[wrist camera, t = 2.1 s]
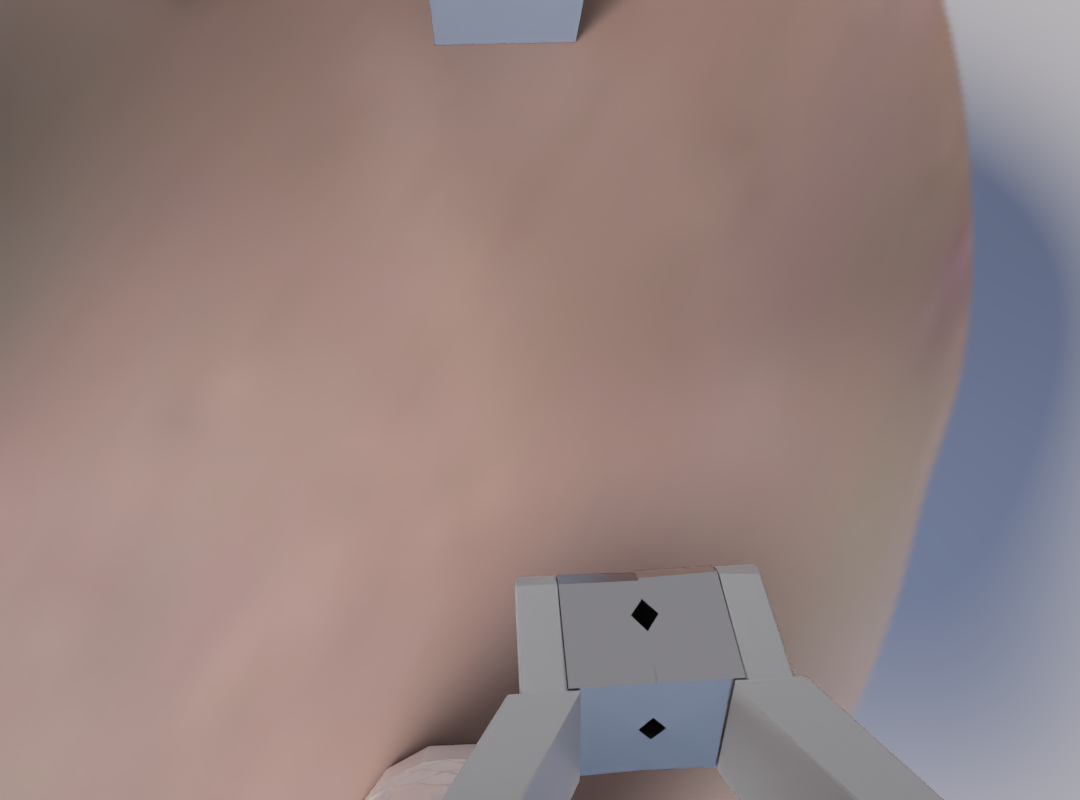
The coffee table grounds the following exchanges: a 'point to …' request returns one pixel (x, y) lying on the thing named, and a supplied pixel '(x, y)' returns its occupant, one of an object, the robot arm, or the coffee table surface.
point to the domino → (504, 21)
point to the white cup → (422, 774)
